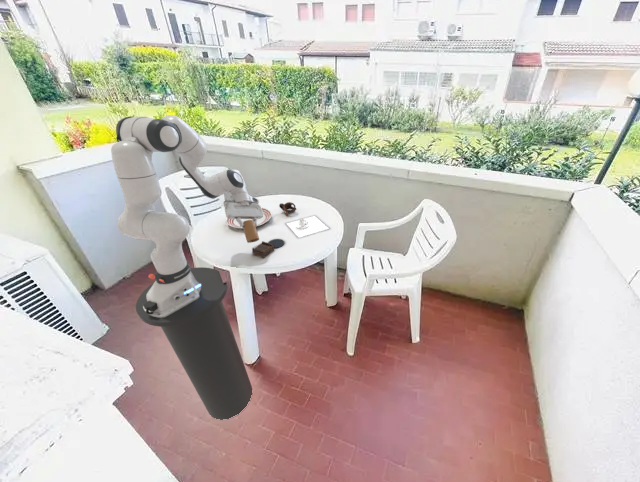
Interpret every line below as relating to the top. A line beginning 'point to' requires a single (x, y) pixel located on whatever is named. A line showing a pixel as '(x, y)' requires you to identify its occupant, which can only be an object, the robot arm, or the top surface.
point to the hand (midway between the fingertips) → (249, 226)
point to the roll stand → (263, 249)
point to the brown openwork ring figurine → (288, 206)
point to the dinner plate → (259, 221)
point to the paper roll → (250, 231)
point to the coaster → (277, 243)
